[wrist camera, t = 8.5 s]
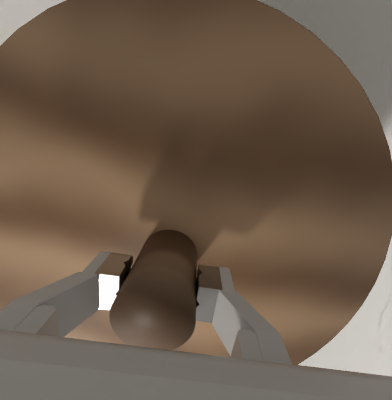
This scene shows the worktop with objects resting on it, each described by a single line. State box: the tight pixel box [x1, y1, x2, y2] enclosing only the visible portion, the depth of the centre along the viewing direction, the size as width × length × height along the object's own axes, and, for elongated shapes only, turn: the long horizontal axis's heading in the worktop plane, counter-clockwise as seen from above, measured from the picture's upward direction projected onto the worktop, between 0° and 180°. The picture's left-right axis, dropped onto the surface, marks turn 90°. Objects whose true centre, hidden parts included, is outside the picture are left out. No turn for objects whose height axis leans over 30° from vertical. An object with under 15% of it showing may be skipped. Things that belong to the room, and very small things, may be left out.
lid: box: [0, 0, 392, 365], centre depth 10 cm, size 25×25×5 cm
